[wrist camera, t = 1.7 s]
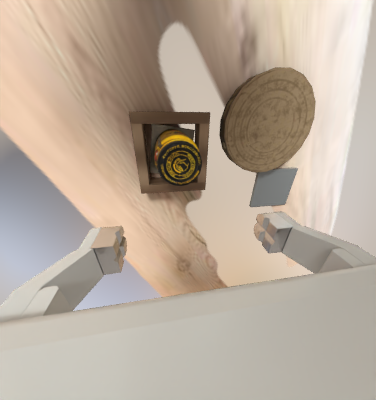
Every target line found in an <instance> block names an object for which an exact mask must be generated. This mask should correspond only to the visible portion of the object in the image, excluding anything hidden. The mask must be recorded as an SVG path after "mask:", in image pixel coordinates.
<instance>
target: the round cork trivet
mask: <svg viewBox="0 0 376 400" xmlns="http://www.w3.org/2000/svg"><path fill="white" fill-rule="evenodd" d="M314 113H315V98H314V93H313V89H312V86H311V85H310V83H309V82H308V80H307V79H306V77H305V76H304V75H303V74H301V73H300V72H298V71H296V70H294V69H292V68H273V69H271V70H268V71H266V72H263V73H261V74H258V75H256V76H254V77H251V78H249V79H248V80H247V81H246V82H245V83H243V84H242V85H241V86H240V87H239V88H238V89H236V91H235V92H234V94H233V95H232V97H231V98H230V100H229V101H228V103H227V105H226V108H225V109H224V111H223V115H222V117H221V121H220V140H221V144H222V149H223V150H224V152H225V153H226V155H227V157H228V158H229V159H230V160H231V161H232V162H234V163H235V164H236V165H238V166H239V167H241V168H242V169H244V170H248V171H251V172H267V171H270V170H272V169H275V168H277V167H279V166H281V165H282V164H284V163H285V162H287V161H288V160H289V159H291V158H292V156H293V155H294V154H295V153H296V152H297V151H298V150H299V149H300V148H301V146H302V144H303V143H304V141H305V139H306V138H307V136H308V134H309V132H310V129H311V126H312V123H313V120H314Z"/></svg>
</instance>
